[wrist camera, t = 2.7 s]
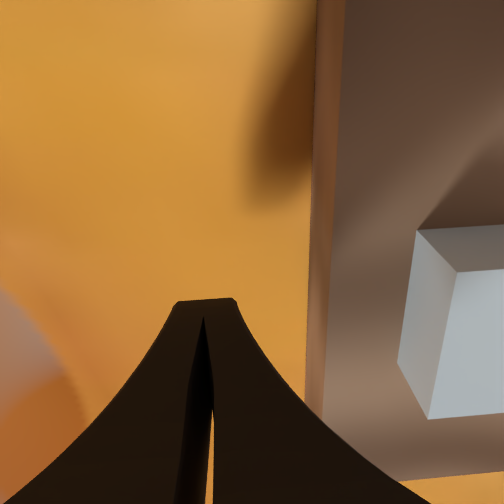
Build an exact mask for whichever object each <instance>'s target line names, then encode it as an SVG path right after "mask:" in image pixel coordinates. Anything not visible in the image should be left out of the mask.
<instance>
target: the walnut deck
mask: <svg viewBox="0 0 504 504" xmlns="http://www.w3.org/2000/svg"><path fill="white" fill-rule="evenodd" d="M503 224H504V0H317V24H316V56H315V88H314V121H313V153H312V185H311V217H310V249H309V282H308V314H307V346H306V378H305V404H306V405H307V406H308V407H309V408H310V409H311V410H312V411H313V412H314V413H315V414H316V415H317V416H318V417H319V418H320V419H321V420H322V421H323V422H324V423H325V424H326V425H327V426H328V427H329V428H330V429H332V430H333V431H334V432H335V433H336V434H337V435H339V436H340V437H341V438H342V439H343V440H344V441H346V442H347V443H348V444H349V445H350V446H351V447H353V448H354V449H355V450H356V451H357V452H358V453H360V454H361V455H362V456H363V457H364V458H366V459H367V460H368V461H370V462H371V463H372V464H374V465H375V466H376V467H378V468H379V469H380V470H382V471H383V472H384V473H386V474H387V475H388V476H389V477H391V478H392V479H394V480H395V481H408V480H418V479H428V478H438V477H449V476H459V475H469V474H479V473H489V472H500V471H504V413H495V414H484V415H473V416H462V417H451V418H440V419H429V420H428V419H427V417H426V416H425V414H424V412H423V410H422V408H421V406H420V404H419V403H418V401H417V399H416V397H415V395H414V393H413V391H412V390H411V388H410V386H409V384H408V382H407V380H406V378H405V377H404V375H403V373H402V371H401V369H400V367H399V365H398V364H397V360H398V353H399V347H400V340H401V333H402V326H403V319H404V313H405V306H406V299H407V292H408V285H409V279H410V272H411V265H412V258H413V251H414V244H415V238H416V231H417V230H425V229H441V228H456V227H472V226H488V225H503Z"/></svg>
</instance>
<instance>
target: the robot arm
mask: <svg viewBox="0 0 504 504" xmlns="http://www.w3.org/2000/svg"><path fill="white" fill-rule="evenodd" d="M212 410H213V418H214V470H213V504H431V503H429V502H428V501H426V500H425V499H423V498H421V497H420V496H418V495H417V494H415V493H414V492H412V491H411V490H409V489H408V488H406V487H405V486H403V485H401V484H400V483H398V482H397V481H395V480H394V479H392V478H391V477H389V476H388V475H387V474H386V473H384V472H383V471H382V470H380V469H379V468H378V467H376V466H375V465H374V464H372V463H371V462H370V461H368V460H367V459H366V458H364V457H363V456H362V455H361V454H360V453H358V452H357V451H356V450H355V449H354V448H353V447H351V446H350V445H349V444H348V443H347V442H346V441H344V440H343V439H342V438H341V437H340V436H339V435H337V434H336V433H335V432H334V431H333V430H332V429H330V428H329V427H328V426H327V425H326V424H325V423H324V422H323V421H322V420H321V419H320V418H319V417H318V416H317V415H316V414H315V413H314V412H313V411H312V410H311V409H310V408H309V407H308V406H307V405H306V404H305V403H304V402H303V401H302V400H301V399H300V398H299V397H298V396H297V395H296V393H295V392H294V391H293V390H292V389H291V388H290V387H289V385H288V384H287V383H286V382H285V381H284V379H283V378H282V377H281V376H280V374H279V373H278V372H277V370H276V369H275V368H274V367H273V365H272V364H271V363H270V361H269V360H268V358H267V357H266V356H265V354H264V353H263V351H262V350H261V348H260V347H259V345H258V344H257V342H256V340H255V339H254V337H253V336H252V334H251V332H250V331H249V329H248V327H247V325H246V323H245V322H244V320H243V317H242V315H241V313H240V311H239V308H238V306H237V302H236V301H235V300H234V299H233V298H219V299H205V300H191V301H178V302H177V303H176V304H175V305H174V306H173V308H172V311H171V313H170V315H169V317H168V318H167V320H166V322H165V324H164V326H163V328H162V329H161V331H160V333H159V334H158V336H157V338H156V339H155V341H154V343H153V344H152V346H151V347H150V349H149V350H148V352H147V353H146V355H145V357H144V358H143V360H142V361H141V362H140V364H139V365H138V367H137V368H136V369H135V371H134V372H133V373H132V375H131V376H130V377H129V379H128V380H127V381H126V383H125V384H124V386H123V387H122V388H121V389H120V391H119V392H118V393H117V394H116V396H115V397H114V398H113V399H112V401H111V402H110V403H109V404H108V405H107V406H106V408H105V409H104V410H103V411H102V412H101V413H100V414H99V416H98V417H97V418H96V419H95V420H94V421H93V422H92V423H91V424H90V425H89V427H88V428H87V429H86V430H85V431H84V432H83V433H82V434H81V435H80V436H79V437H78V438H77V439H76V440H75V441H74V442H73V443H72V444H71V445H70V446H69V447H68V448H67V449H66V450H65V451H64V452H63V453H62V454H61V455H59V457H57V458H56V459H55V460H54V461H53V462H52V463H51V464H50V465H49V466H48V467H47V468H45V469H44V470H43V471H42V472H41V473H40V474H39V475H37V476H36V477H35V478H34V479H33V480H31V481H30V482H29V483H28V484H27V485H26V486H24V487H23V488H22V489H21V490H20V491H18V492H17V493H16V494H15V495H14V496H12V497H11V498H10V499H9V500H7V501H6V502H5V503H4V504H205V496H206V484H207V471H208V458H209V445H210V432H211V419H212Z"/></svg>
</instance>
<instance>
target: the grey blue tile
mask: <svg viewBox="0 0 504 504" xmlns="http://www.w3.org/2000/svg"><path fill="white" fill-rule="evenodd" d="M397 364H398V365H399V367H400V369H401V371H402V373H403V375H404V377H405V378H406V380H407V382H408V384H409V386H410V388H411V390H412V391H413V393H414V395H415V397H416V399H417V401H418V403H419V404H420V406H421V408H422V410H423V412H424V414H425V416H426V417H427V419H428V420H429V419H440V418H451V417H462V416H473V415H484V414H495V413H504V224H503V225H488V226H472V227H456V228H441V229H425V230H417V231H416V238H415V244H414V251H413V258H412V265H411V272H410V279H409V285H408V292H407V299H406V306H405V313H404V319H403V326H402V333H401V340H400V347H399V353H398V360H397Z"/></svg>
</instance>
